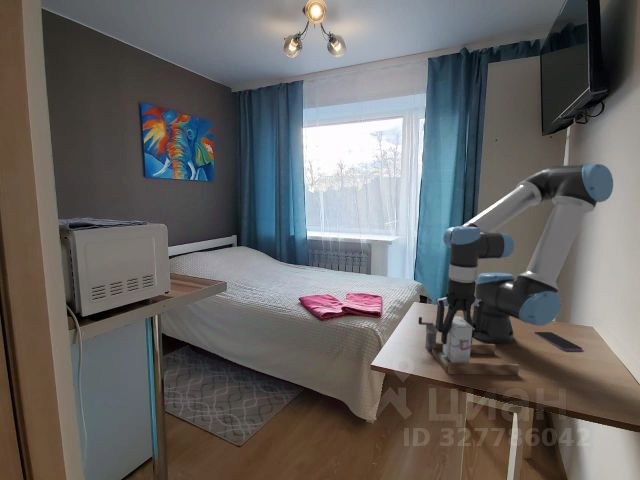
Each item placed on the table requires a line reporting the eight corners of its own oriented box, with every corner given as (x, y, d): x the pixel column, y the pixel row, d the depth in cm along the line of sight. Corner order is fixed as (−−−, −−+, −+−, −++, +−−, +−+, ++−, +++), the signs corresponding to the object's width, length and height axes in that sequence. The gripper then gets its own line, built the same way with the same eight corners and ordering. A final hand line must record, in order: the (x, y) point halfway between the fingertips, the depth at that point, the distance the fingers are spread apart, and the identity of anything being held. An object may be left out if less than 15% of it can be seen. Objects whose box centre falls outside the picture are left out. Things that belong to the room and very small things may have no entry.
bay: (487, 347, 114) (490, 317, 112) (518, 375, 97) (522, 339, 95) (415, 346, 114) (417, 315, 112) (432, 373, 97) (435, 337, 95)
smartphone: (551, 331, 128) (584, 348, 114) (550, 334, 128) (583, 352, 114) (532, 331, 128) (563, 348, 113) (532, 334, 128) (563, 352, 113)
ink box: (440, 351, 107) (444, 315, 106) (456, 351, 108) (459, 315, 106) (453, 365, 99) (457, 326, 97) (469, 365, 99) (474, 326, 97)
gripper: (486, 276, 104) (479, 348, 107) (427, 275, 103) (421, 347, 107) (499, 283, 96) (491, 360, 99) (435, 281, 96) (429, 359, 99)
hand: (455, 353), depth 103 cm, fingers closed on ink box, 5 cm apart
